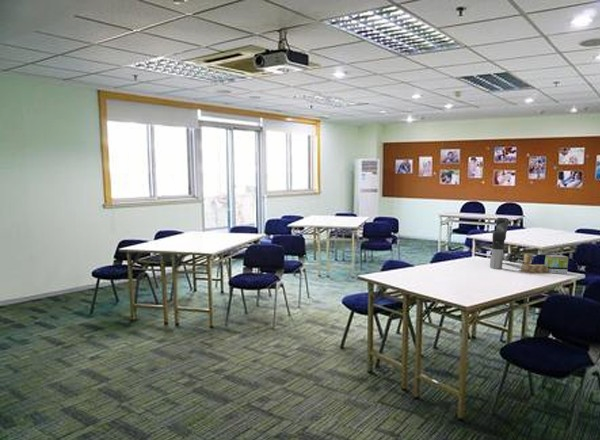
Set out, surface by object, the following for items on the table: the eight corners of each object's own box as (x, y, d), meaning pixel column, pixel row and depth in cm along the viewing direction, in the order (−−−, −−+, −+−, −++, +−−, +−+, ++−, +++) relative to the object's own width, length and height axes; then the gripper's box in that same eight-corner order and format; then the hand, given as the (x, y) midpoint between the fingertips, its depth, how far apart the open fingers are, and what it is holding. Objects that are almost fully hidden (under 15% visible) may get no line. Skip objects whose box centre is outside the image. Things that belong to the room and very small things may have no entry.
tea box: (551, 273, 390) (552, 256, 389) (543, 271, 400) (544, 254, 399) (567, 273, 392) (568, 256, 391) (559, 271, 402) (560, 254, 401)
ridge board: (529, 273, 386) (529, 266, 386) (519, 270, 399) (519, 263, 399) (550, 273, 390) (550, 266, 389) (539, 270, 403) (540, 263, 402)
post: (526, 270, 402) (527, 254, 402) (523, 269, 406) (524, 253, 406) (530, 270, 403) (531, 254, 402) (527, 269, 407) (528, 253, 406)
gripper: (502, 253, 427) (513, 255, 411) (516, 253, 430) (528, 255, 414) (502, 261, 428) (513, 264, 412) (516, 261, 430) (527, 264, 414)
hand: (520, 259), depth 413 cm, fingers open, 8 cm apart
